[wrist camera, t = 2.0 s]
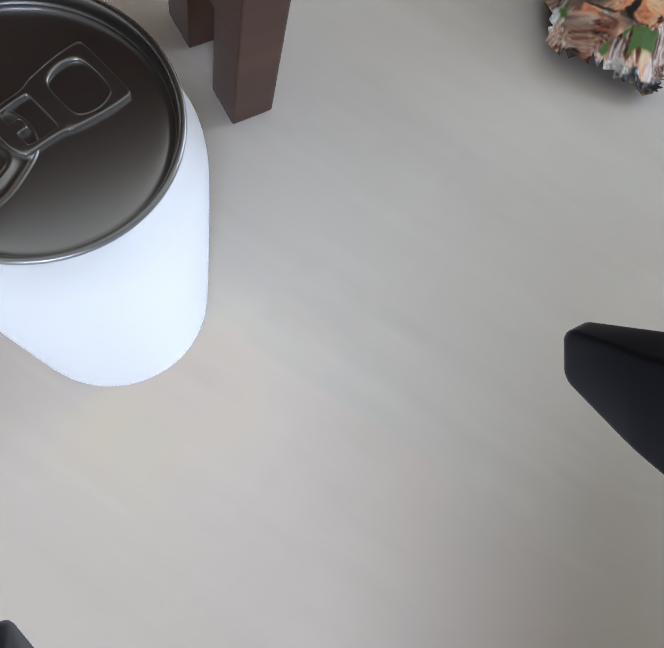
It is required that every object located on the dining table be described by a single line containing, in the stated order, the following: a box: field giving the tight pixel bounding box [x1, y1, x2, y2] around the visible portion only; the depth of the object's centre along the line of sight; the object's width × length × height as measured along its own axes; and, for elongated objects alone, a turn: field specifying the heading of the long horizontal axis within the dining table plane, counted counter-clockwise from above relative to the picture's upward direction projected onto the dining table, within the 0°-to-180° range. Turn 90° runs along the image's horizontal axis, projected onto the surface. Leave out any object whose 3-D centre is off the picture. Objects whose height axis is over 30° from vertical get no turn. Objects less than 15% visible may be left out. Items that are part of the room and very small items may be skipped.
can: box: [0, 0, 209, 386], centre depth 17 cm, size 6×6×12 cm
